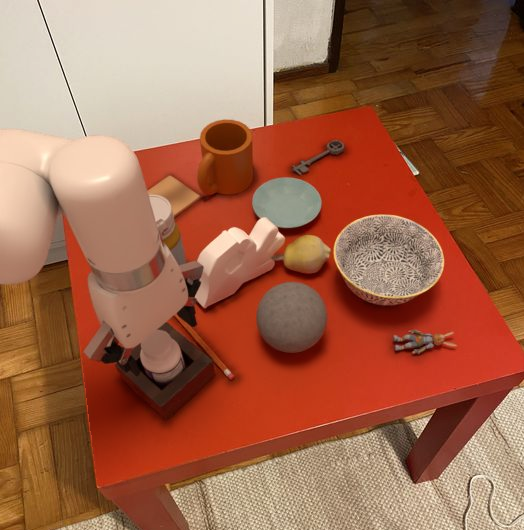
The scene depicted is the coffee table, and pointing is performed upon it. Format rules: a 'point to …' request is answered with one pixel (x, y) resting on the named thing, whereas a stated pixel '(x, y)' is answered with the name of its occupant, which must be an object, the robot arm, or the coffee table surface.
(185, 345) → the holder
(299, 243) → the fruit
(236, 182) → the mug
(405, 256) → the bowl
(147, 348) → the pill bottle
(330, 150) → the key
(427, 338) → the figurine
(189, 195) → the coaster
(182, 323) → the pencil
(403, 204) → the coffee table surface
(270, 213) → the saucer
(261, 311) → the decorative ball
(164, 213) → the bottle
